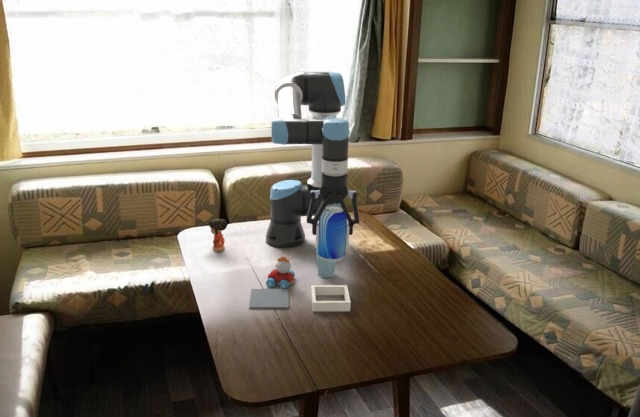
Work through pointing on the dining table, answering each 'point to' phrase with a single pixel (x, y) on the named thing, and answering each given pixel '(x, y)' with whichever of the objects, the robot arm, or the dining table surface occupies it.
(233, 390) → the dining table surface
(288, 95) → the robot arm
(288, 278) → the toy car
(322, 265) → the cup
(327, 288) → the pocket
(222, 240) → the figurine
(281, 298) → the mat
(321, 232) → the beer can
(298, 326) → the dining table surface
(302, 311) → the dining table surface
